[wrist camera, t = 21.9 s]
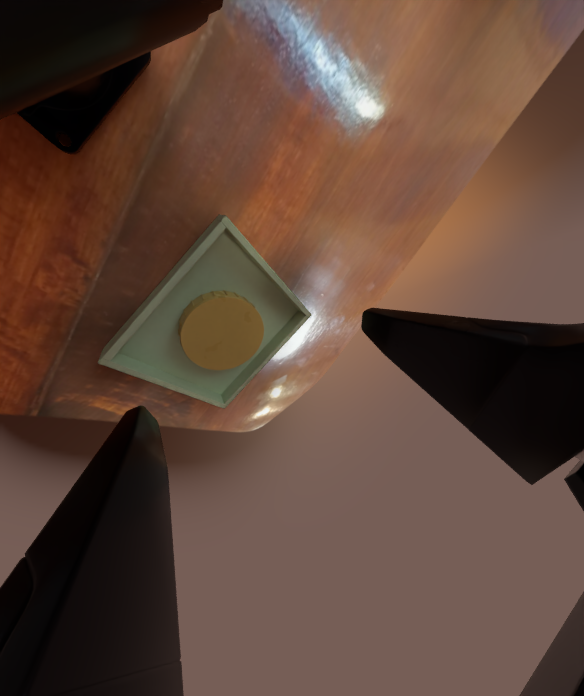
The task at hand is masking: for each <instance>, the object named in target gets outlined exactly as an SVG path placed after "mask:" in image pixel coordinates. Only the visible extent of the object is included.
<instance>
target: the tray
mask: <svg viewBox="0 0 584 696" xmlns="http://www.w3.org/2000/svg"><path fill="white" fill-rule="evenodd" d="M223 290H225V291H229V292H233V293H234V292H236V294H238V295H240V296H242V297H243V296H244V297H245V298H246V299H247V300H248V302H249V303H252V304H253V305H254V306H255V307H256V308H255V309H256V310H257V311H258V313H259V314H260V316H261V318H262V321H263V325H264V336H263V340H262V343H261V345H260V347H259V349H258V350H257V352H256V353H255V354H254V355H253V356H252V357H251V358H250V359H249V360H248V361H246V362H245V363H243V364H241V365H239V366H237V367H234V368H231V369H226V370H211V369H206V368H203V367H201V366H199V365H197V364H195V363H194V362H193V361H191V360H190V359H189V358H188V357H187V355H186V354H185V352H184V350H183V348H182V346H181V344H180V336H179V334H178V329H179V319H180V318H181V315H182V313H183V309H185V308H186V307H187V306H188V305H189V304H190V303H191V300H192V301H193V300H194V299H196V298H197V297H199V296H201V295H200V294H202V295H203V294H205V293H209V292H212V291H223ZM310 316H311V313H310V312H309V311H308V310H307V309H306V308H305V306H304V305H303V304H302V303H301V302H300V301H299V300H298V298H297V297H296V296H295V295H294V294H293V293H292V291H291V290H290V289H289V288H288V287H287V286H286V285H285V283H284V282H283V281H282V280H281V279H280V278H279V276H278V275H277V274H276V273H275V272H274V271H273V269H272V268H271V267H270V266H269V265H268V264H267V263H266V261H265V260H264V259H263V258H262V257H261V256H260V254H259V253H258V252H257V251H256V250H255V249H254V248H253V246H252V245H251V244H250V243H249V242H248V241H247V239H246V238H245V237H244V236H243V235H242V234H241V232H240V231H239V230H238V229H237V228H236V227H235V226H234V224H233V223H232V222H231V221H230V220H229V219H228V217H227V216H225V215H220V214H219V215H218V216H217V217H216V219H215V220H214V221H213V222H212V223H211V224H210V225H209V227H208V228H207V229H206V230H205V231H204V232H203V234H202V235H201V236H200V237H199V238H198V239H197V240H196V242H195V243H194V244H193V245H192V246H191V247H190V249H189V250H188V251H187V252H186V253H185V254H184V256H183V257H182V258H181V259H180V260H179V261H178V262H177V264H176V265H175V266H174V267H173V268H172V269H171V271H170V272H169V273H168V274H167V275H166V276H165V278H164V279H163V280H162V281H161V282H160V283H159V284H158V286H157V287H156V288H155V289H154V290H153V291H152V293H151V294H150V295H149V296H148V297H147V298H146V300H145V301H144V302H143V303H142V304H141V305H140V306H139V308H138V309H137V310H136V311H135V312H134V313H133V315H132V316H131V317H130V318H129V319H128V320H127V322H126V323H125V324H124V325H123V326H122V327H121V328H120V330H119V331H118V332H117V333H116V334H115V335H114V337H113V338H112V339H111V340H110V341H109V342H108V343H107V345H106V346H105V347H104V348H103V349H102V352H101V355H100V358H99V360H98V364H101V365H104V366H107V367H110V368H112V369H115V370H118V371H121V372H124V373H126V374H129V375H132V376H135V377H137V378H140V379H143V380H146V381H149V382H151V383H154V384H157V385H160V386H163V387H165V388H168V389H171V390H174V391H176V392H179V393H182V394H185V395H188V396H190V397H193V398H196V399H199V400H202V401H204V402H207V403H210V404H213V405H216V406H218V407H221V408H224V409H225V408H226V407H227V405H228V404H229V403H230V402H231V401H232V400H233V399H234V398H235V397H236V396H237V395H238V394H239V393H240V392H241V390H242V389H243V388H244V387H245V386H246V385H247V384H248V383H249V382H250V381H251V380H252V379H253V378H254V376H255V375H256V374H257V373H258V372H259V371H260V370H261V369H262V368H263V367H264V366H265V365H266V364H267V362H268V361H269V360H270V359H271V358H272V357H273V356H274V355H275V354H276V353H277V352H278V351H279V349H280V348H281V347H282V346H283V345H284V344H285V343H286V342H287V341H288V340H289V339H290V338H291V337H292V335H293V334H294V333H295V332H296V331H297V330H298V329H299V328H300V327H301V326H302V325H303V324H304V323H305V321H306V320H307V319H308V318H309V317H310Z"/></svg>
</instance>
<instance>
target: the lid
mask: <svg viewBox="0 0 584 696" xmlns="http://www.w3.org/2000/svg"><path fill="white" fill-rule="evenodd" d="M200 295H201V296H199V297H197V298H196V299H194V300H193V301H192V300H191V303H190V304H189V305H188V306H187V307H186V308H185V309H183V313H182V315H181V318H180V319H179V329H178V334H179V336H180V344H181V346H182V348H183V350H184V352H185V354H186V355H187V357H188V358H189V359H190V360H191V361H193V362H194V363H195V364H197V365H199V366H201V367H203V368H206V369H211V370H226V369H231V368H234V367H237V366H239V365H241V364H243V363H245V362H246V361H248V360H249V359H250V358H251V357H252V356H253V355H254V354H255V353H256V352H257V350H258V349H259V347H260V345H261V343H262V340H263V336H264V325H263V321H262V318H261V316H260V314H259V313H258V311H257V310H256V309H255V308H256V307H255V306H254V305H253V304H252V303H249V302H248V300H247V299H246V298H245V297H244V296H243V297H242V296H240V295H238V294H236V292H234V293H233V292H229V291H225V290H223V291H212V292H209V293H205V294H203V295H202V294H200Z"/></svg>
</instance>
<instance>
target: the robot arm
mask: <svg viewBox="0 0 584 696" xmlns="http://www.w3.org/2000/svg"><path fill="white" fill-rule="evenodd" d="M222 4H223V0H0V120H1V119H3V118H5V117H7V116H10V115H12V114H14V113H17V114H18V115H19V116H21V117H22V118H23V119H24V120H25V121H27V122H28V123H29V124H30V125H31V126H32V127H34V128H35V129H36V130H37V131H38V132H40V133H41V134H42V135H43V136H44V137H45V138H47V139H48V140H49V141H50V142H51V143H53V144H54V145H55V146H56V147H57V148H59V149H60V150H62V151H63V152H65V153H68V154H77V153H78V152H79V151H80V150H81V149H82V148H83V146H84V145H85V144H86V143H87V141H88V140H89V139H90V138H91V136H92V135H93V134H94V133H95V131H96V130H97V129H98V128H99V126H100V125H101V124H102V123H103V121H104V120H105V119H106V118H107V116H108V115H109V114H110V113H111V111H112V110H113V109H114V108H115V106H116V105H117V104H118V103H119V101H120V100H121V99H122V98H123V96H124V95H125V94H126V93H127V91H128V90H129V89H130V88H131V86H132V85H133V84H134V83H135V81H136V80H137V79H138V78H139V76H140V75H141V74H142V73H143V71H144V70H145V69H146V68H147V66H148V65H149V63H150V61H151V51H152V50H154V49H156V48H159V47H161V46H163V45H165V44H167V43H170V42H172V41H174V40H176V39H178V38H180V37H183V36H185V35H187V34H189V33H191V32H194V31H196V30H197V29H198V28H199V27H201V26H202V25H203V24H204V23H206V22H207V19H208V16H209V14H211V13H213V12H215V11H217V10H220V9H221V7H222ZM60 134H66V135H68V137H69V138H70V140H71V145H70V146H64V145H62V144H61V142H60V141H59V135H60ZM361 327H362V330H363V332H364V333H365V334H366V335H367V336H368V337H369V338H370V340H371V341H372V342H373V343H374V344H375V345H376V346H377V347H378V348H379V349H380V350H381V352H382V353H383V354H385V356H387V357H388V358H389V359H390V360H391V361H392V362H393V363H394V364H396V365H397V366H398V367H399V368H400V369H401V370H402V371H404V372H405V373H406V374H407V375H408V376H409V377H410V378H411V379H412V380H413V381H415V382H416V383H417V384H418V385H419V386H420V387H421V388H422V389H424V390H425V391H426V392H427V393H428V394H429V395H430V396H431V397H433V398H434V399H435V400H436V401H437V402H438V403H439V404H441V405H442V406H443V407H444V408H445V409H446V410H447V411H448V412H450V414H452V415H453V416H454V417H455V418H456V419H457V420H458V421H459V422H461V423H462V424H463V425H464V426H465V427H466V428H467V429H469V431H470V432H472V433H473V434H474V435H475V436H476V437H477V438H478V439H479V440H481V441H482V442H483V443H484V444H485V445H486V446H487V447H489V448H490V449H491V450H492V451H493V452H494V453H495V454H496V455H497V456H498V457H500V458H501V459H502V460H503V461H504V462H505V463H506V464H508V465H509V466H510V467H511V468H512V469H513V470H514V471H515V472H517V473H518V474H519V475H520V476H521V477H522V478H523V479H525V480H526V481H527V482H528V483H530V484H531V485H533V484H534V483H536V482H537V481H539V480H540V479H542V478H543V477H544V476H546V475H547V474H549V473H550V472H552V471H553V470H555V469H556V468H558V467H559V466H561V465H562V464H564V463H565V462H567V461H568V460H570V459H571V458H573V457H576V458H578V459H579V460H580V461H579V462H578V463H577V465H576V466H575V467H574V468H573V469H572V470H571V472H570V473H569V474H568V475H567V476H566V478H565V479H564V480H565V481H566V483H567V485H568V486H569V488H570V490H571V491H572V493H573V495H574V496H575V498H576V500H577V501H578V503H579V504H580V506H581V507H582V509H583V511H584V323H581V324H546V323H529V322H514V321H500V320H489V319H478V318H466V317H458V316H448V315H439V314H438V315H437V314H429V313H419V312H409V311H399V310H389V309H379V308H370V309H367V310H365V311H364V312H363V315H362V326H361ZM180 658H181V654H180V640H179V626H178V611H177V597H176V581H175V567H174V553H173V539H172V524H171V509H170V495H169V480H168V469H167V463H166V458H165V453H164V448H163V443H162V438H161V433H160V429H159V425H158V422H157V420H156V419H155V418H154V417H153V416H152V415H151V413H150V412H149V411H148V410H147V409H146V408H145V407H144V406H138V407H135V408H133V409H131V410H128V411H127V412H126V413H125V414H124V416H123V417H122V418H121V420H120V421H119V423H118V424H117V425H116V427H115V428H114V430H113V431H112V433H111V434H110V435H109V437H108V438H107V440H106V441H105V442H104V444H103V445H102V447H101V448H100V449H99V451H98V452H97V454H96V455H95V456H94V458H93V459H92V461H91V462H90V463H89V465H88V466H87V468H86V469H85V470H84V472H83V473H82V474H81V476H80V477H79V479H78V480H77V482H76V483H75V484H74V486H73V487H72V488H71V490H70V491H69V493H68V494H67V495H66V497H65V498H64V500H63V501H62V503H61V504H60V505H59V507H58V508H57V509H56V511H55V512H54V514H53V515H52V516H51V518H50V519H49V521H48V522H47V523H46V525H45V526H44V528H43V529H42V530H41V532H40V533H39V535H38V536H37V537H36V539H35V540H34V542H33V543H32V544H31V546H30V547H29V548H28V550H27V551H26V553H25V557H23V558H22V559H21V560H20V561H19V562H18V564H17V565H16V567H15V568H14V569H13V571H12V572H11V574H10V575H9V576H8V578H7V579H6V581H5V582H4V583H3V585H2V586H1V587H0V696H184V695H183V680H182V666H181V661H180ZM520 696H584V592H583V594H582V595H581V597H580V599H579V600H578V602H577V604H576V605H575V607H574V608H573V610H572V611H571V613H570V615H569V616H568V618H567V620H566V621H565V623H564V624H563V626H562V628H561V629H560V631H559V633H558V634H557V636H556V637H555V639H554V641H553V642H552V644H551V646H550V647H549V649H548V650H547V652H546V654H545V655H544V657H543V658H542V660H541V662H540V663H539V665H538V666H537V668H536V670H535V671H534V673H533V675H532V676H531V678H530V679H529V681H528V683H527V684H526V686H525V688H524V689H523V691H522V692H521V694H520Z"/></svg>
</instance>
